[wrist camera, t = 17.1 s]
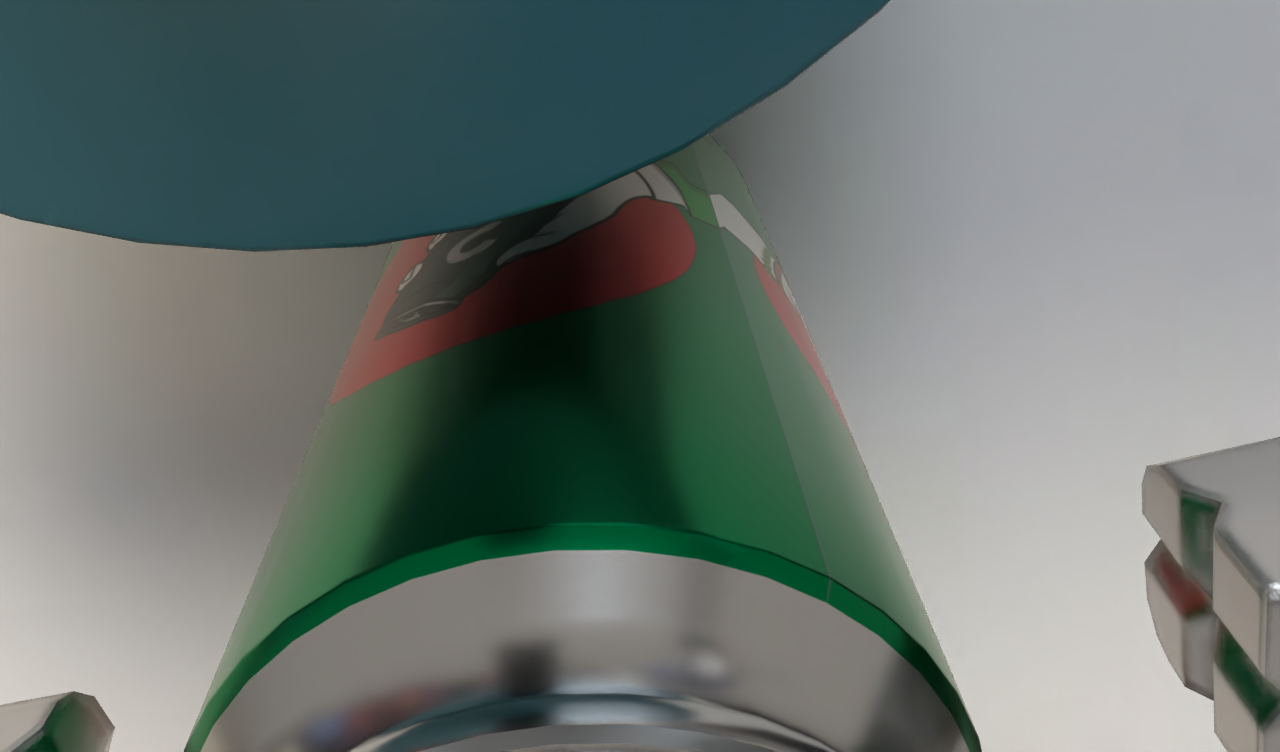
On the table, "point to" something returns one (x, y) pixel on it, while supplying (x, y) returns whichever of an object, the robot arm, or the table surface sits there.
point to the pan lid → (368, 108)
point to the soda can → (586, 510)
